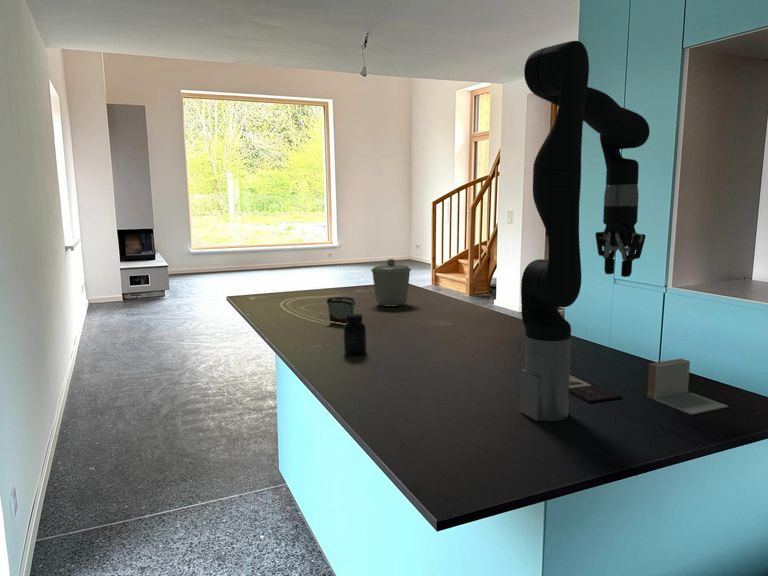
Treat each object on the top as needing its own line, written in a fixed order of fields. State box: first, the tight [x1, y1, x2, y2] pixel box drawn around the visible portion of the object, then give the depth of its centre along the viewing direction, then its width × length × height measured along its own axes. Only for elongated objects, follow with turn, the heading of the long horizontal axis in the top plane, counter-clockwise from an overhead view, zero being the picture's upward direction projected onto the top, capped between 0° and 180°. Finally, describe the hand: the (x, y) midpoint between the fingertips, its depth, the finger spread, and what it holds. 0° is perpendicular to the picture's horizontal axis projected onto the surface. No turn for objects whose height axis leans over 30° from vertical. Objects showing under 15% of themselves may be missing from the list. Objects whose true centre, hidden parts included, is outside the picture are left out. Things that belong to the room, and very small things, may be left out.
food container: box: [326, 296, 356, 323], centre depth 213 cm, size 12×6×10 cm, turn 58°
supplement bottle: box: [343, 313, 367, 357], centre depth 169 cm, size 7×7×12 cm
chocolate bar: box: [569, 373, 623, 404], centre depth 135 cm, size 9×1×18 cm
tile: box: [646, 358, 691, 400], centre depth 128 cm, size 10×2×8 cm, turn 111°
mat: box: [655, 392, 729, 416], centre depth 123 cm, size 11×9×1 cm
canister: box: [370, 258, 412, 306], centre depth 249 cm, size 18×18×21 cm
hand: (617, 274), depth 134 cm, fingers open, 4 cm apart
